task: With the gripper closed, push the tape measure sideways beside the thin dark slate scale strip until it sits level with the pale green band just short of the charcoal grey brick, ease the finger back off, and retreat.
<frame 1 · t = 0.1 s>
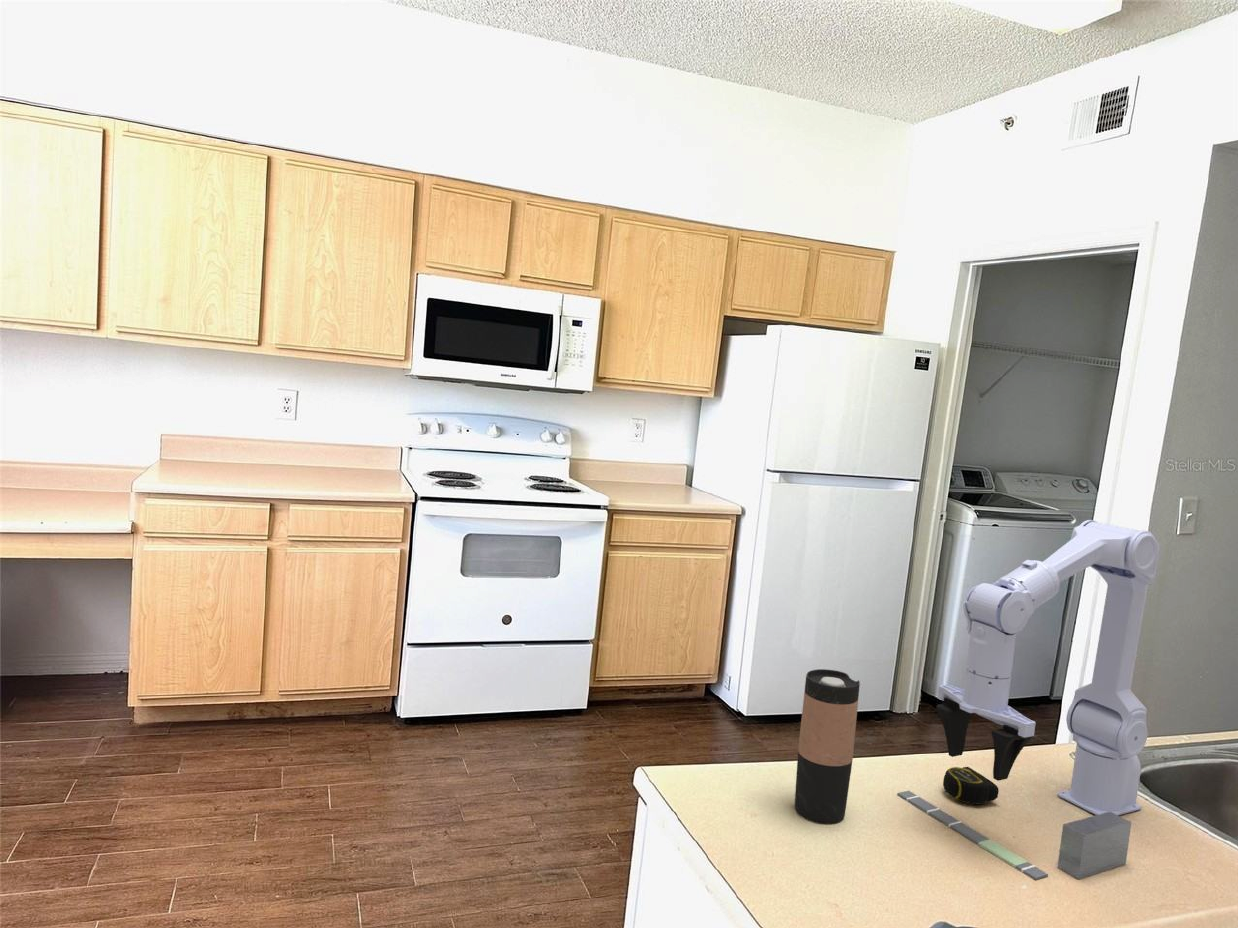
hand: (977, 766, 121), 10 cm above the counter, fingers open, 7 cm apart
tape measure: (967, 797, 135), on the counter
travel mug: (819, 812, 126), on the counter
charcoal grey brick: (1091, 865, 117), on the counter
scale strip: (966, 832, 123), on the counter
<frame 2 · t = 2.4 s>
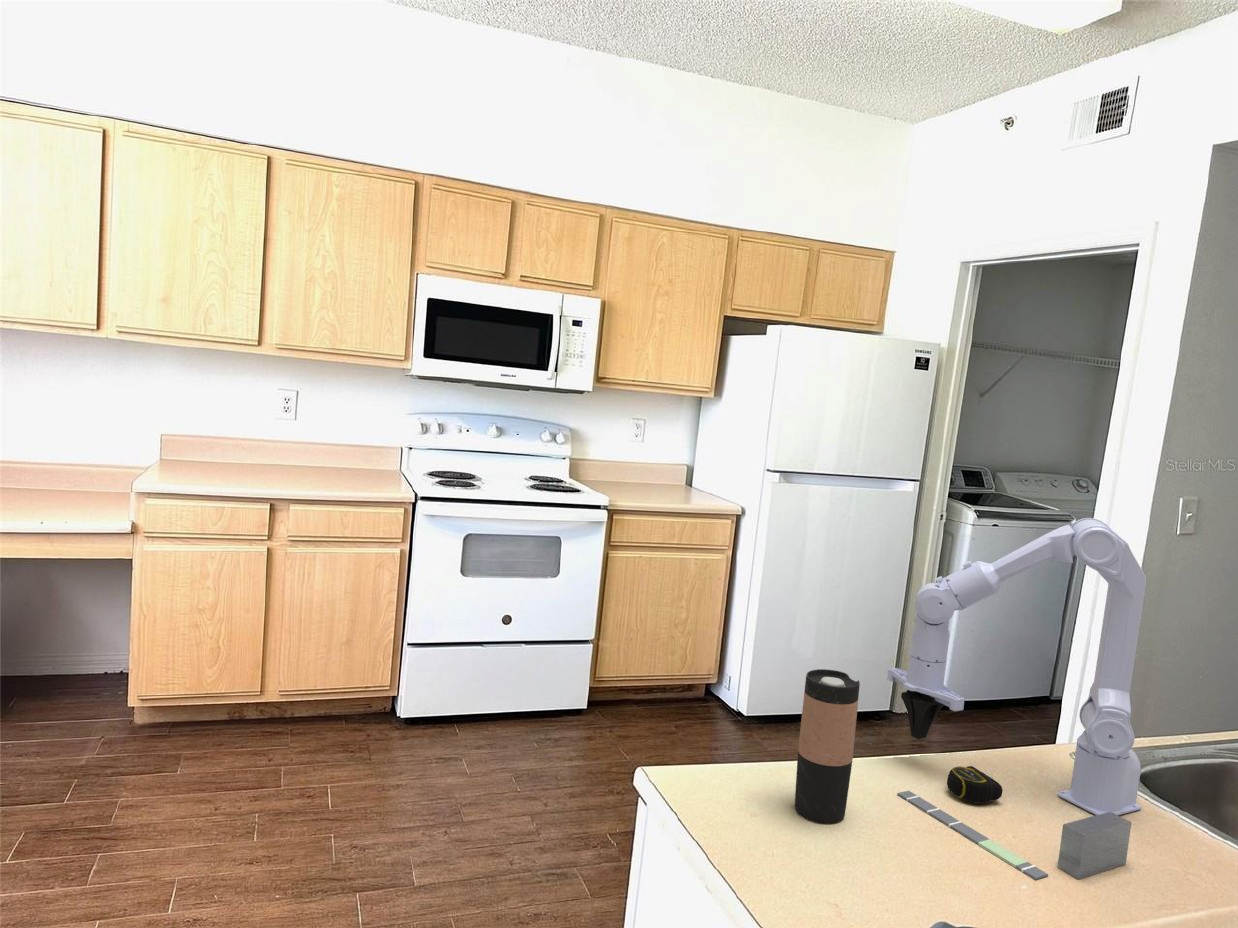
hand: (918, 736, 144), 5 cm above the counter, fingers closed
nothing on the counter moved.
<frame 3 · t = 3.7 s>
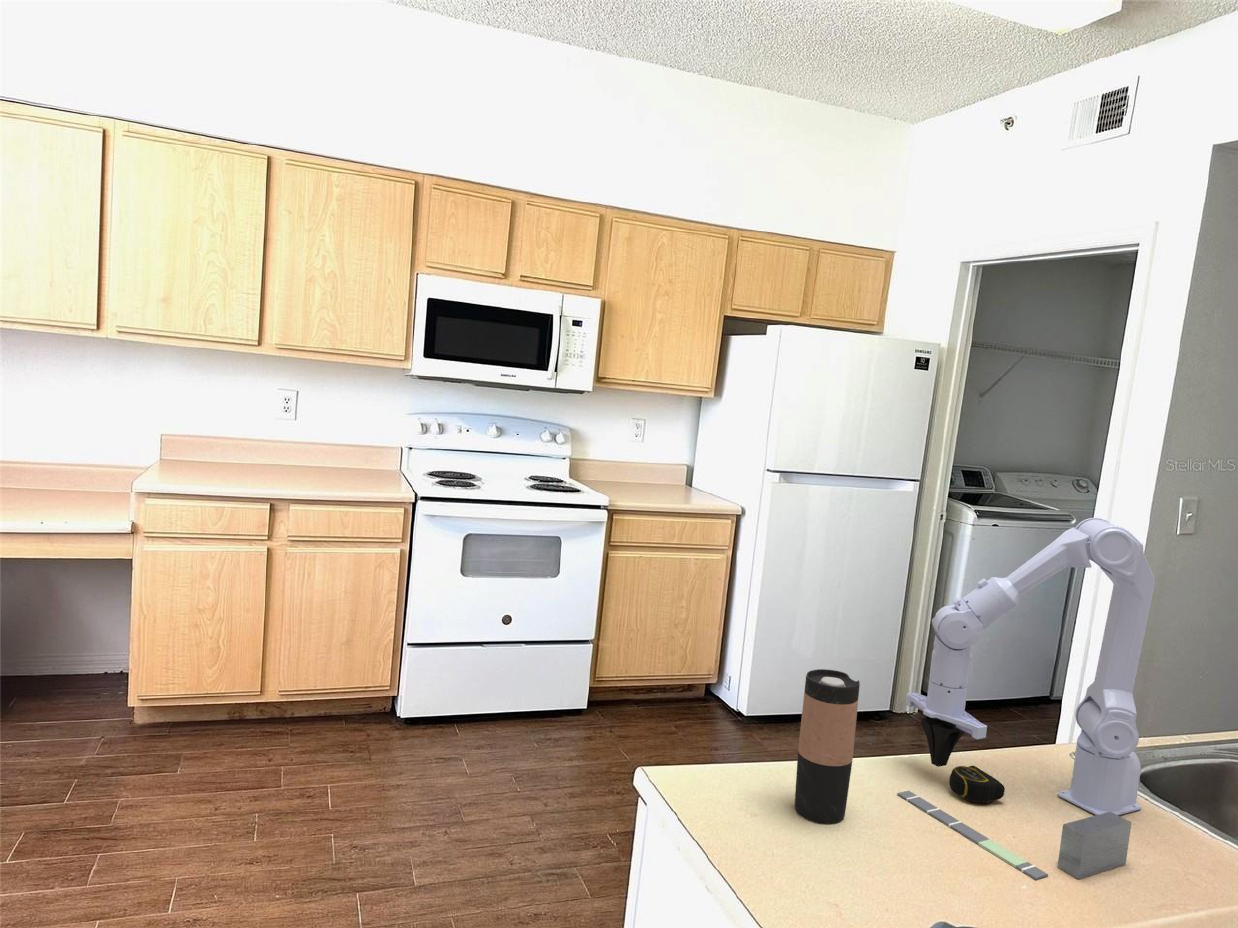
hand: (938, 764, 140), 2 cm above the counter, fingers closed
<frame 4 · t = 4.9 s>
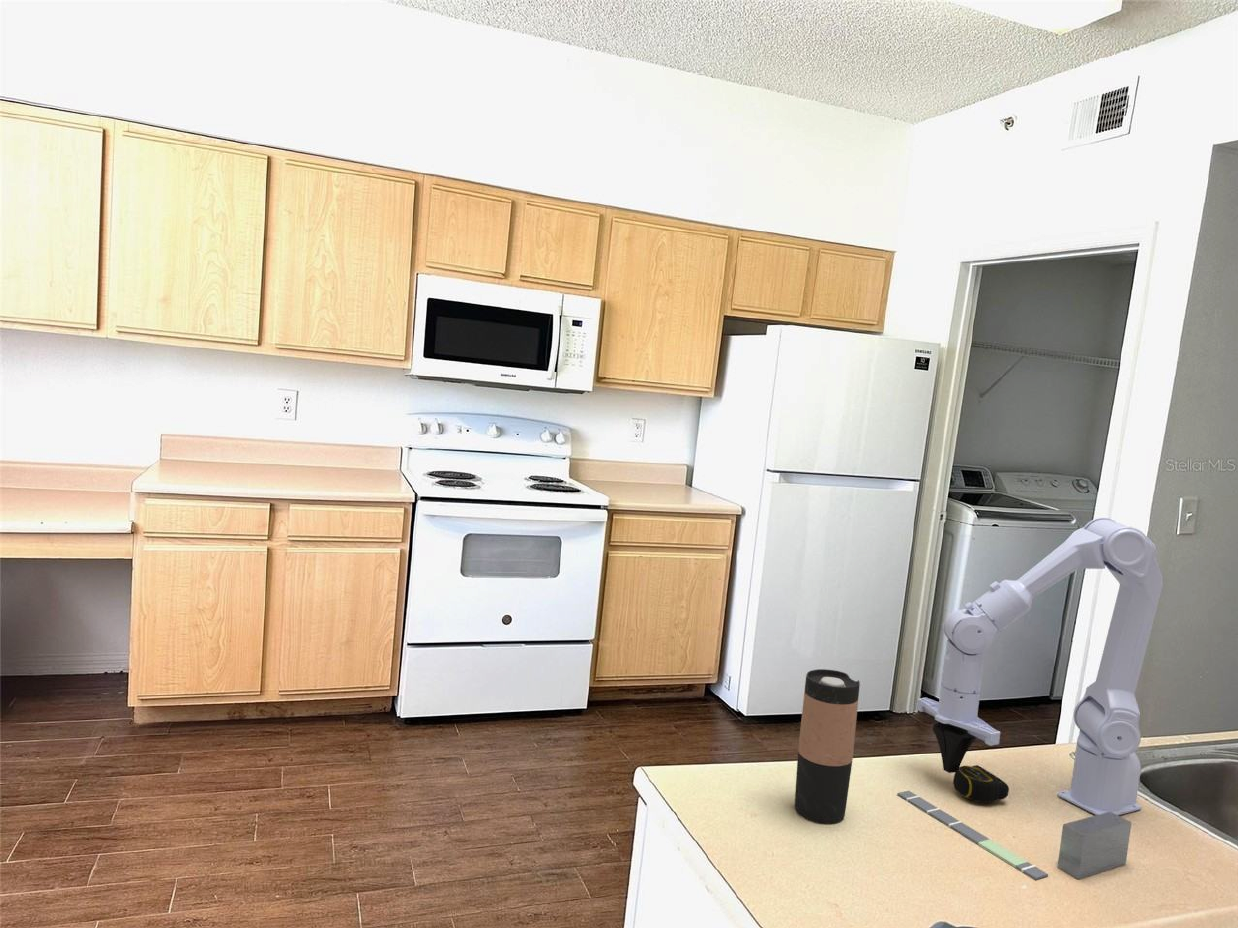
hand: (950, 770, 138), 2 cm above the counter, fingers closed
tape measure: (977, 796, 135), on the counter, touching gripper
everything else where it was.
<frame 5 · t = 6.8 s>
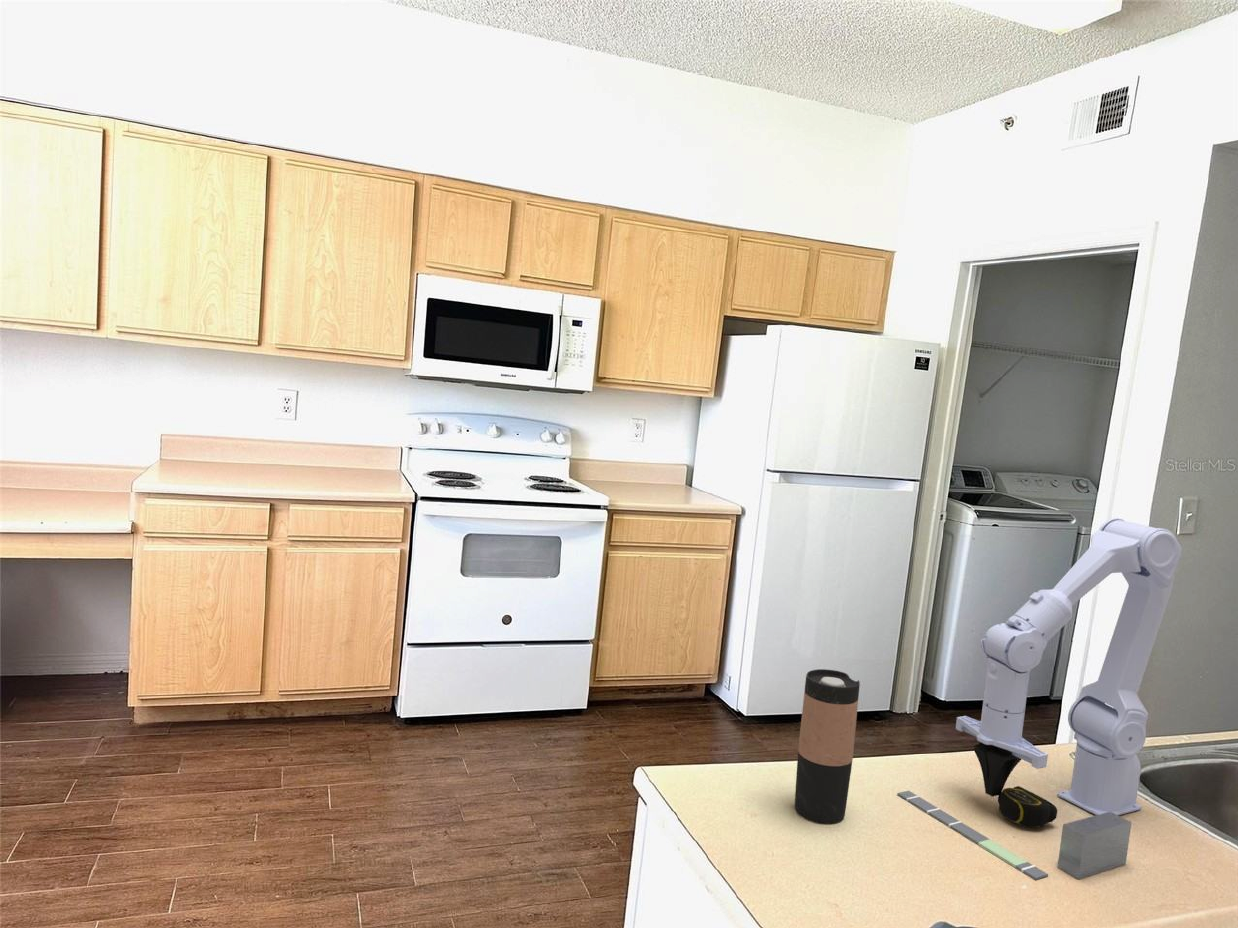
hand: (993, 793, 131), 2 cm above the counter, fingers closed
tape measure: (1023, 819, 129), on the counter, touching gripper
everything else where it was.
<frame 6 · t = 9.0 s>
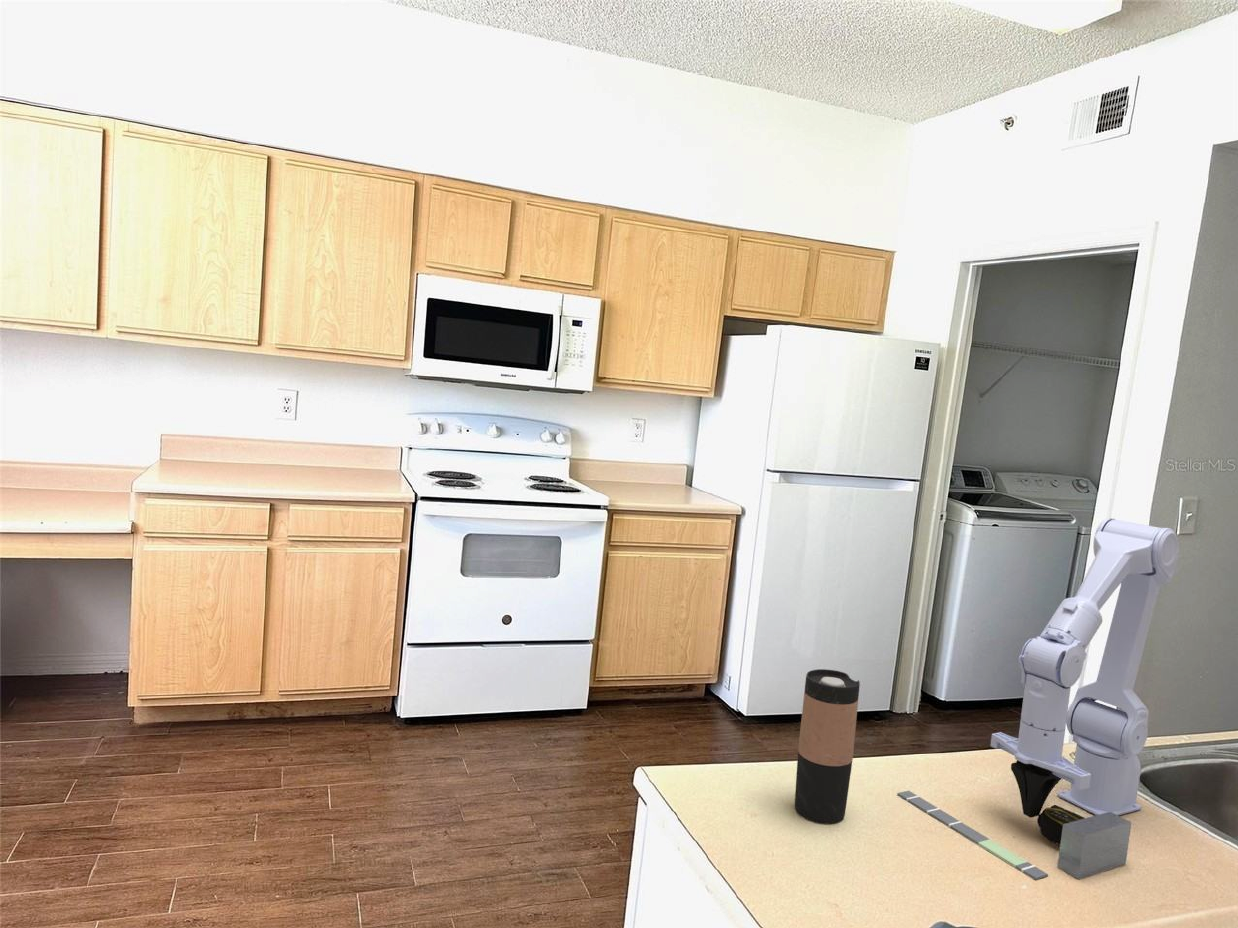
hand: (1031, 814, 125), 2 cm above the counter, fingers closed
tape measure: (1064, 840, 123), on the counter, touching gripper
everything else where it was.
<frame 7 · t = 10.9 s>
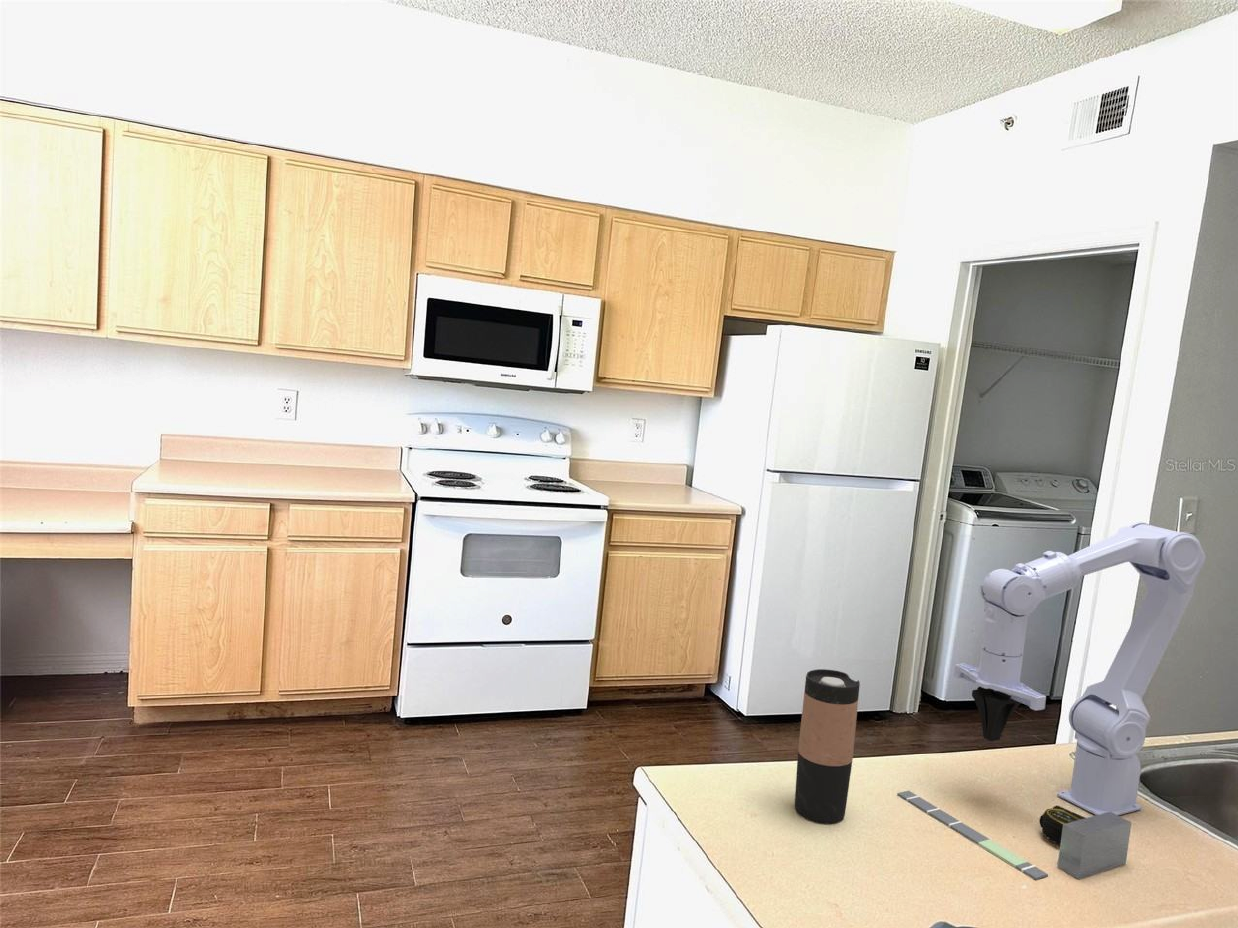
hand: (991, 738, 131), 10 cm above the counter, fingers closed
tape measure: (1066, 841, 124), on the counter
everything else where it was.
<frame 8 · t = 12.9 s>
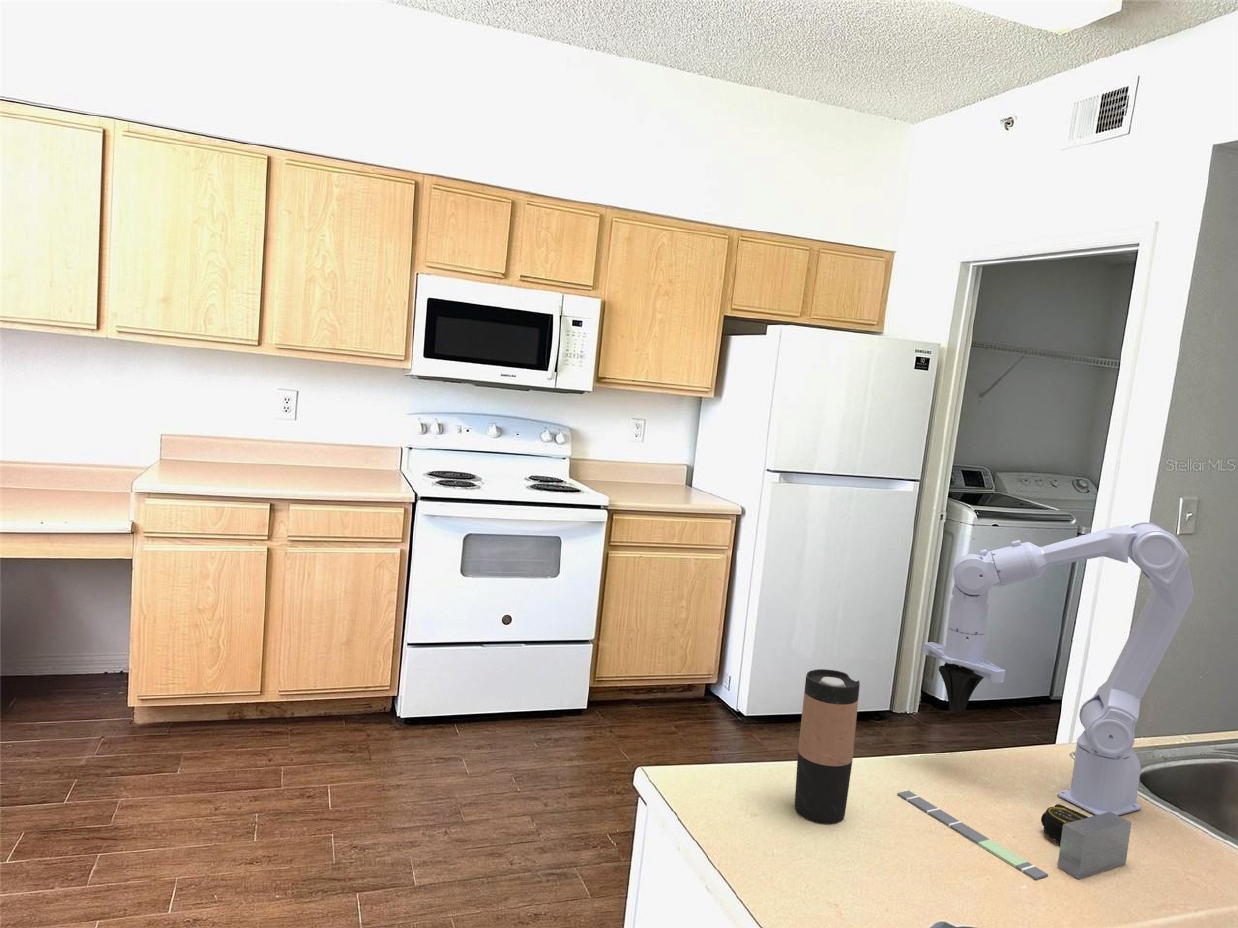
hand: (956, 710, 142), 10 cm above the counter, fingers closed
nothing on the counter moved.
at the end: tape measure inside the target area (5.0 cm from its centre), on the counter; tape measure moved 14.8 cm from its start; the gripper is holding nothing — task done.
